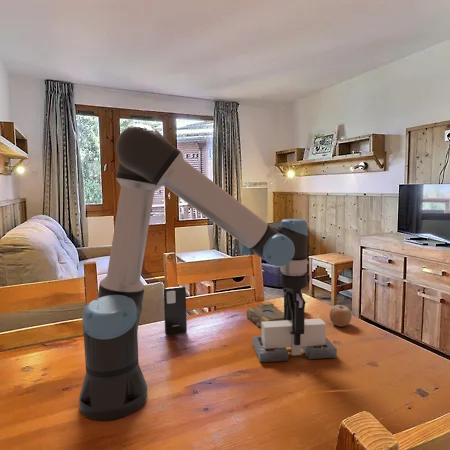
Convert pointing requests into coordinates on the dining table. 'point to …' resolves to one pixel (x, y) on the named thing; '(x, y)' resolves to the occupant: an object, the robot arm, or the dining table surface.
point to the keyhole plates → (282, 353)
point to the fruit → (340, 315)
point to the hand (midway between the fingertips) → (293, 350)
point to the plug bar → (281, 338)
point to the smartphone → (175, 310)
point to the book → (264, 313)
